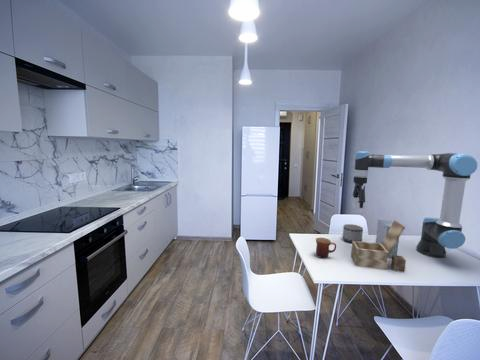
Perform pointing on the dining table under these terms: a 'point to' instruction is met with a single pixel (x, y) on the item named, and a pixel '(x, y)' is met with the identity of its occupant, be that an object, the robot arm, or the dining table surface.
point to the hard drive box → (381, 233)
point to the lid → (393, 235)
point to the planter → (352, 233)
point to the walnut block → (398, 263)
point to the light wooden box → (369, 254)
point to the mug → (323, 247)
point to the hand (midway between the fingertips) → (357, 210)
